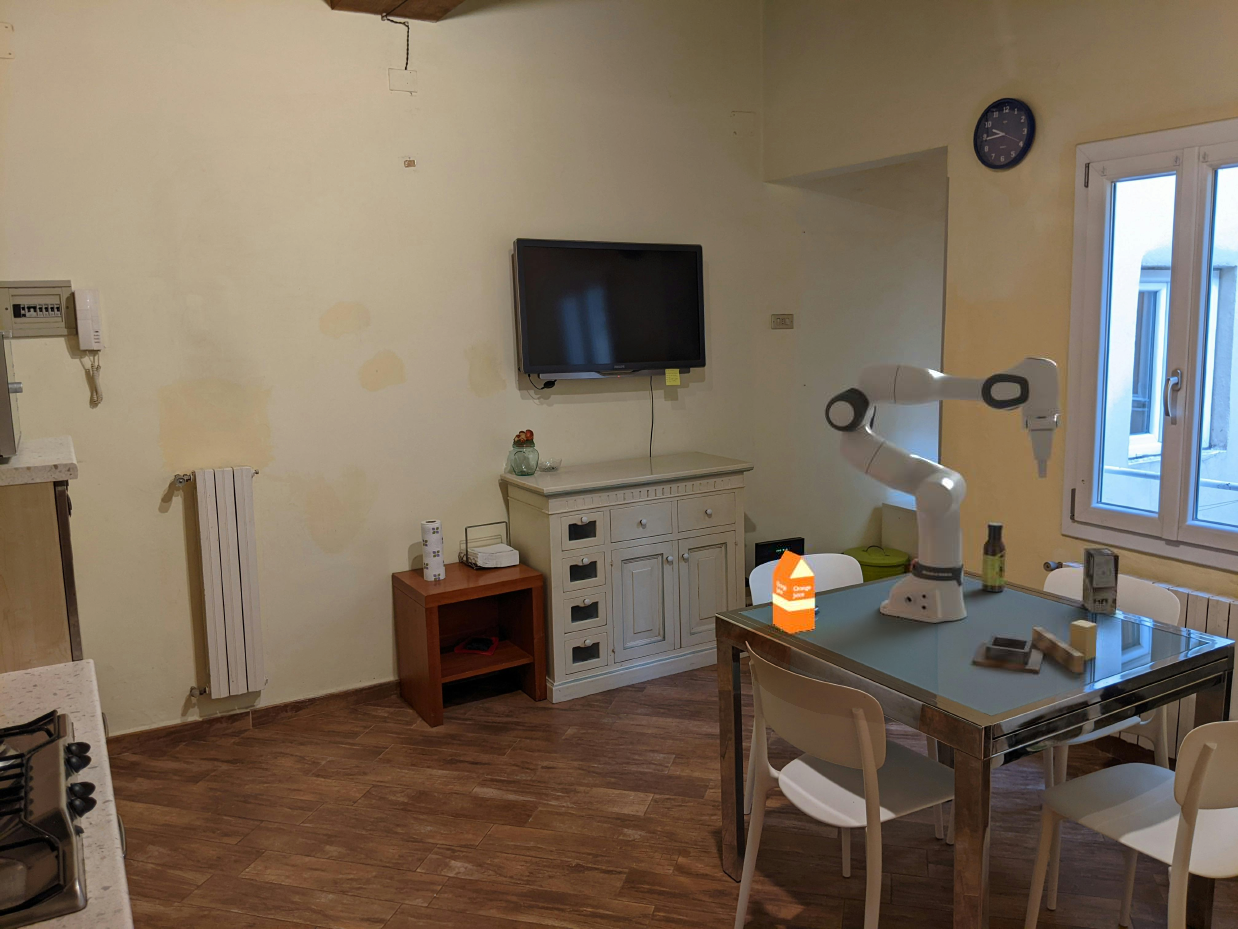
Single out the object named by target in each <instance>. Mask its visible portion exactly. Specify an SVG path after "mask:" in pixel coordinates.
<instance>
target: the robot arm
mask: <svg viewBox="0 0 1238 929" xmlns="http://www.w3.org/2000/svg"><path fill="white" fill-rule="evenodd" d="M1060 387H1061V384H1060V373H1059V368H1058V364H1056V362H1055V361H1053V360H1051V359H1049V358H1042V357H1025V358H1024V359H1022V361H1020V362H1018V363H1017V364H1016V365H1014V366H1012V367H1009V368H1008V369H1005V370H1003V371H999V372H996V373H994V374H992V375H989V377H983V378H982V377H967V376H955V375H950V374H945V373H942V372H939V371H936V370H934V369H931V368H928V367H923V366H920V365H916V364H908V363H877V364H869V365H867V366H865V367H864V368H863V369H861V371H860V372H859V374H858V378H857V382H856V387H850V388H849V389H846V390H843V391H842V392H839V393H837V394H836V395H834V396H833V397H832V398H831V399H830V400H829V401H828V402H827V404H826V406H825V409H824V412H825V413H824V416H825V419H826V422H827V423H828V425H829V426H830V428H832V429H834V430H836V431H837V432H841V437H840V439H839V441H838V445H837V452H838V455H839V456H840V458H842V459H843V460H844V461H845V462H846V463H848V465H850V466H852V467H854V469H856V470H857V471H859V472H861V473H862V474H863V475H866V476H867V477H869V478H871V479H873V480H875V481H876V482H879V483H880V484H881V485H884V486H886V487H887V488H889V489H891V490H894V491H898V492H901V493H903V494H906V495H909V496H912V497H913V498H914V501H915V510H916V518H917V519H916V520H917V527H918V558H914V559H913V560H912V561H911V564H910V574H909V575H907V576H906V577H904V578H902V579H900V581H898V582H897V583H895V584H894V585H893V586H892V587H891V590H890V592H889V596H888V599H885V600H884V601H883V602H882V603H881V604H880V605H879V606H880V607H879V610H880V612H881V613H882V614H883V613H884V614H883V615H888V616H894V617H898V616H899V618H904V619H910V620H916V621H922V622H926V623H932V624H934V623H942V622H949V621H950V622H951V621H958V620H963V619H965V618H966V617H967V615H968V614H967V611H966V606H965V601H964V595H963V584H964V576H965V575H964V572H965V570H964V563H963V558H962V556H963V555H962V554H963V533H962V527H961V526H962V525H961V512H960V511H961V503H962V502H963V501H964V499H966V495H967V490H968V489H967V484H966V481H965V478H964V477H963V476H962V475H961V474H960V473H959V472H957V471H955V470H953V469H950V468H948V467H945V466H943V465H941V464H938V463H937V462H934V461H931V460H929V459H927V458H924V457H921V456H919V455H916V454H914V453H911V452H910V451H908V450H906V449H905V448H902V447H901V446H898V445H896V444H895V443H894V442H891V441H889V440H887V439H886V438H883V437H882V436H880V435H878V434H876V433H875V432H874V431H872V429H873V427H874V423H875V422H874V421H875V416H876V413H877V406H878V405H883V404H889V405H898V406H901V405H902V406H914V405H916V406H917V405H924V404H930V403H934V402H939V401H948V400H955V401H956V400H957V401H970V402H982V403H985V405H987V406H989V407H990V408H992V409H994V410H997V411H1005V412H1006V411H1007V412H1008V411H1009V412H1010V411H1014V410H1017V409H1020V408H1021V425H1022V426H1021V427H1022V428H1021V429H1022V430H1027V435H1028V436H1030V441H1031V447H1032V454H1033V458H1034V460H1035V461H1036V462H1037V473H1038V478H1040V479H1045V478H1047V470H1048V469H1047V468H1048V461H1050V460H1051V458H1052V451H1053V450H1052V449H1053V443H1054V442H1053V441H1054V436H1055V435H1056V429H1060V428H1061V427H1062V425H1061V424H1062V422H1061V421H1062V419H1061V405H1060V402H1059V398H1060V397H1059V396H1060V393H1061V388H1060Z"/></svg>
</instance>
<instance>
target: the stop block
mask: <svg viewBox="0 0 1238 929" xmlns="http://www.w3.org/2000/svg"><path fill="white" fill-rule="evenodd" d="M1069 634H1070V637H1069V646H1070V647H1072V648H1074V649H1075V650H1077V651H1078V652H1080V653H1081V654H1083V655H1084V662H1085V661H1088V660H1092V659H1094V658H1096V657H1097V639H1098V637H1097V635H1098V624H1097V623H1094V622H1091V621H1087V620H1083V619H1080V620H1076V621H1073V622H1070V633H1069Z"/></svg>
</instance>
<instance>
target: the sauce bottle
mask: <svg viewBox="0 0 1238 929" xmlns="http://www.w3.org/2000/svg"><path fill="white" fill-rule="evenodd" d="M1003 526H1004V525H1003V523H999V522H989V523H988V524H987V531H988V532H987V540H986V541H985V543H984V544H983V548H982V550H983V552H982V566H981V568H982V569H981V583H982V584H981V589H982V590H984V591H987V592H995V593H996V592H998V593H999V592H1001V591H1004V589H1005V583H1006V581H1005V580H1006V558H1007V555H1006V554H1007V552H1006V551H1007V549H1006V545H1005V544H1004V541H1003V540H1002V539H1003V536H1002V534H1003V532H1002V531H1003V528H1004V527H1003Z"/></svg>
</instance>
